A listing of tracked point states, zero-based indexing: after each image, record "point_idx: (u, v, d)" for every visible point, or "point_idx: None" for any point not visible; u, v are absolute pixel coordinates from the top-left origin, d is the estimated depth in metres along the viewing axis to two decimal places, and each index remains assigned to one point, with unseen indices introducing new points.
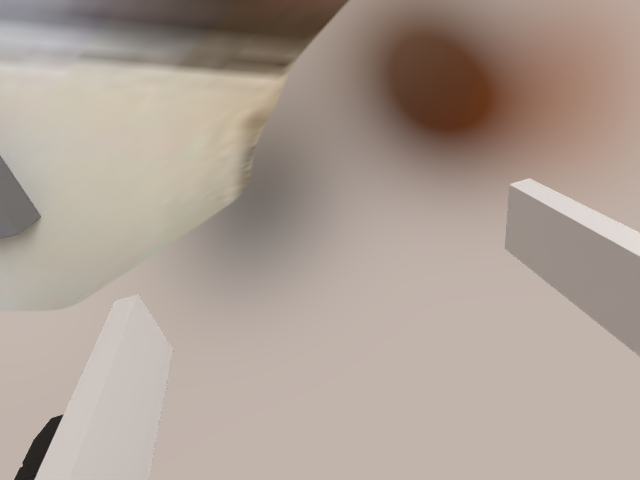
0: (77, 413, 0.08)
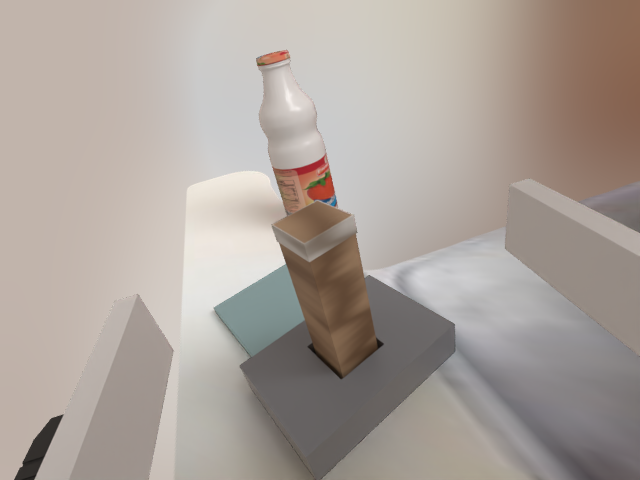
0: (77, 413, 0.08)
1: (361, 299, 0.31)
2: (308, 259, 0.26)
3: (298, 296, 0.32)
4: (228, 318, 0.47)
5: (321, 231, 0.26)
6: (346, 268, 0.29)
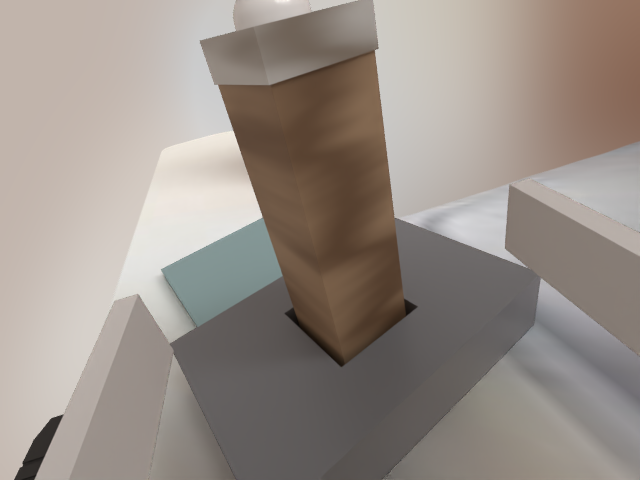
0: (77, 413, 0.08)
1: (381, 212, 0.16)
2: (267, 77, 0.11)
3: (263, 212, 0.18)
4: (177, 282, 0.32)
5: (298, 15, 0.11)
6: (354, 132, 0.14)
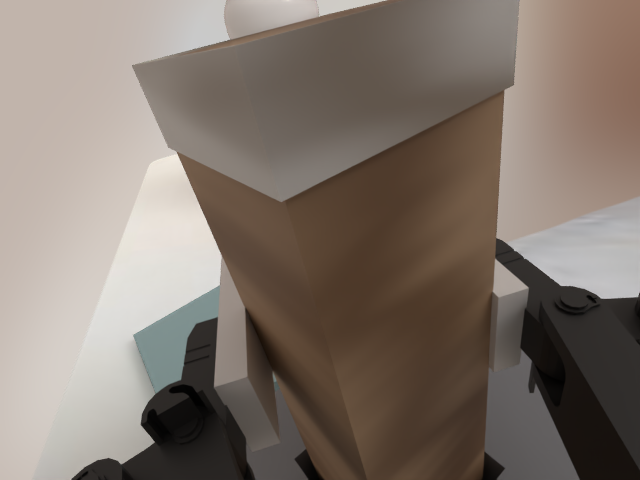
0: (230, 311, 0.10)
1: (473, 363, 0.09)
2: (275, 182, 0.04)
3: (263, 345, 0.10)
4: (152, 358, 0.25)
5: (358, 11, 0.04)
6: (449, 251, 0.07)
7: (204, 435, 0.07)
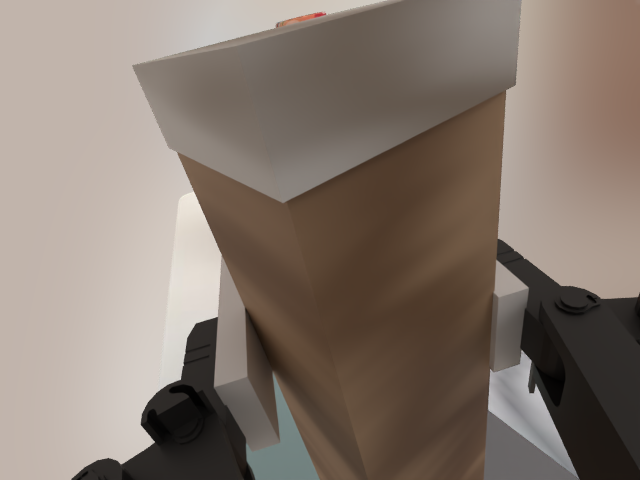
0: (230, 311, 0.10)
1: (474, 364, 0.09)
2: (277, 182, 0.04)
3: (264, 346, 0.10)
4: None
5: (359, 11, 0.04)
6: (451, 252, 0.07)
7: (204, 435, 0.07)
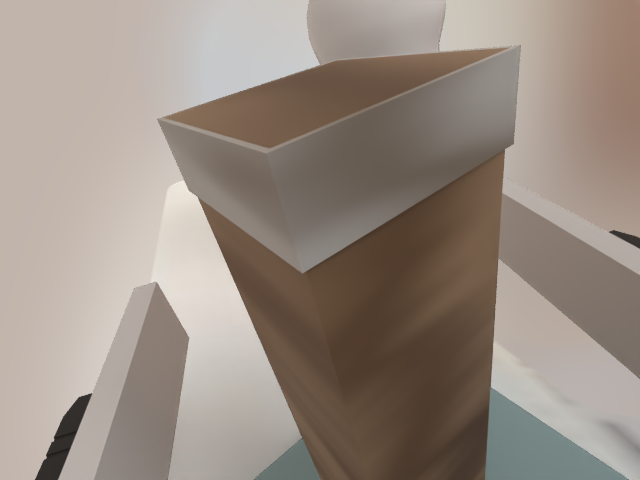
0: (106, 390, 0.08)
1: (475, 389, 0.10)
2: (297, 256, 0.05)
3: (274, 368, 0.11)
4: None
5: (371, 101, 0.05)
6: (453, 294, 0.07)
7: None
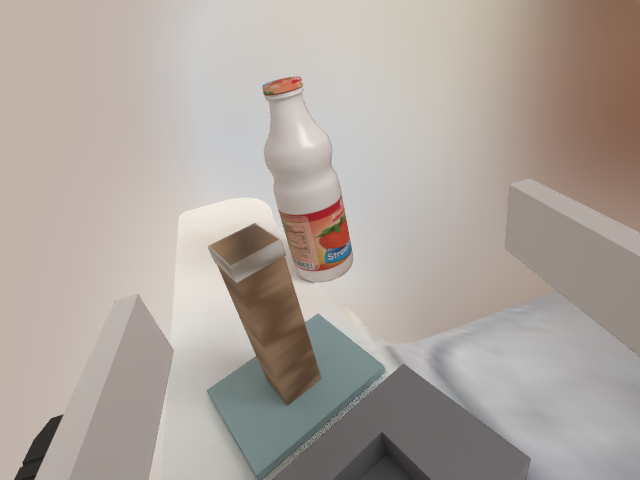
0: (77, 413, 0.08)
1: (295, 316, 0.33)
2: (235, 280, 0.28)
3: (238, 312, 0.35)
4: (225, 409, 0.38)
5: (248, 254, 0.29)
6: (276, 287, 0.31)
7: None
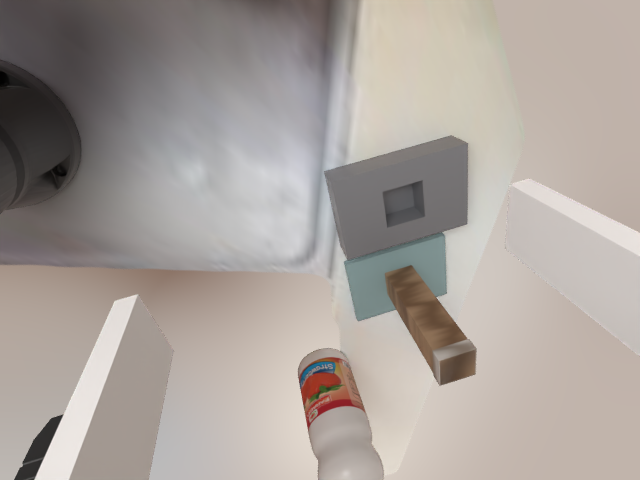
0: (77, 413, 0.08)
1: (415, 312, 0.49)
2: (469, 340, 0.43)
3: None
4: (442, 277, 0.60)
5: (462, 354, 0.42)
6: (434, 332, 0.45)
7: None
